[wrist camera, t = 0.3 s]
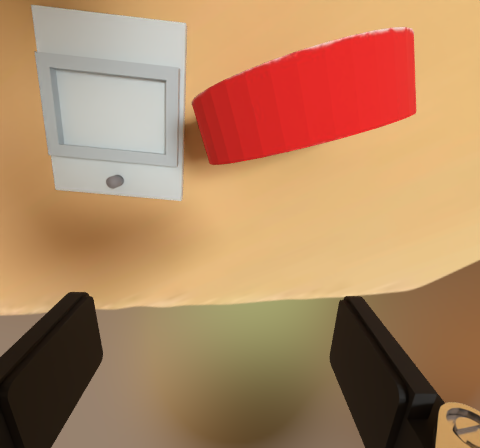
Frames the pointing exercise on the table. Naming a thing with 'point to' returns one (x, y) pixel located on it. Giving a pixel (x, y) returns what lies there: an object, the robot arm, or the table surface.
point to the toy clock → (310, 97)
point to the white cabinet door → (112, 101)
